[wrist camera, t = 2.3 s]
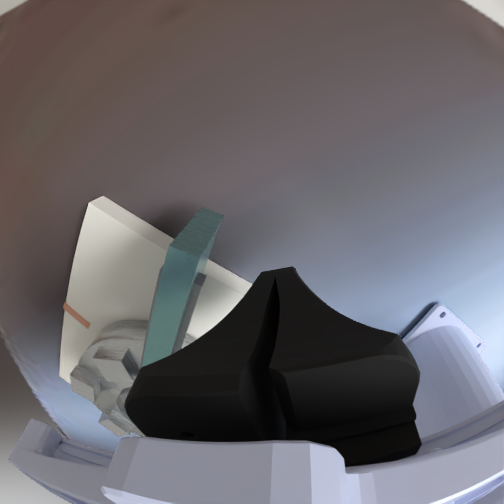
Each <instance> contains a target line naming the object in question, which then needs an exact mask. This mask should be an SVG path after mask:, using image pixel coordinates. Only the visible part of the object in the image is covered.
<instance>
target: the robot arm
mask: <svg viewBox="0 0 504 504" xmlns="http://www.w3.org/2000/svg"><path fill="white" fill-rule="evenodd" d="M441 313H442V314H441ZM485 348H486V344H485V342H484V341H483V340H482V339H481V338H480V337H479V336H477V335H476V334H475V333H474V332H473V331H472V330H471V329H470V328H469V327H468V326H467V325H465V324H464V323H463V322H462V321H461V320H460V319H459V318H458V317H456V316H455V315H454V314H453V313H452V312H451V311H450V310H448V309H447V308H446V307H445V306H444V305H443V304H441V303H437V304H435V305H434V306H433V307H432V308H431V310H430V311H429V312H428V313H427V314H426V315H425V316H424V317H423V318H422V319H421V321H420V322H419V323H418V324H417V325H416V326H415V327H414V328H413V329H412V330H411V331H410V332H409V333H408V334H407V335H406V336H405V337H404V338H403V339H401V338H400V337H399V336H398V334H395V333H391V332H387V331H383V330H379V329H376V328H372V327H369V326H367V325H364V324H361V323H359V322H356V321H354V320H352V319H350V318H348V317H346V316H344V315H342V314H340V313H339V312H337V311H335V310H334V309H332V308H331V307H330V306H328V305H327V304H326V303H324V302H323V301H322V300H321V299H320V298H319V297H318V296H316V295H315V294H314V293H313V292H312V291H311V290H310V289H309V287H308V286H307V285H306V284H305V283H304V282H303V281H302V279H301V278H300V276H299V275H298V273H297V271H296V269H295V268H294V267H286V268H281V269H276V270H270V271H265V272H261V273H260V275H259V276H258V277H257V279H256V280H255V282H254V283H253V285H252V286H251V287H250V289H249V290H248V291H247V293H246V294H245V295H244V297H243V298H242V299H241V300H240V301H239V302H238V304H237V305H236V306H235V307H234V308H233V309H232V310H231V311H230V312H229V313H228V314H227V315H226V316H225V317H224V318H223V319H222V320H221V321H220V322H219V323H218V324H217V325H215V326H214V327H213V328H212V329H210V330H209V331H208V332H206V333H205V334H203V335H202V336H201V337H199V338H198V339H197V340H195V341H194V342H192V343H190V344H189V345H187V346H185V347H184V348H182V349H180V350H178V351H177V352H175V353H173V354H171V355H169V356H167V357H165V358H162V359H160V360H158V361H156V362H153V363H151V364H149V365H146V366H144V367H141V369H140V370H139V372H138V374H137V376H136V379H135V381H134V383H133V385H132V387H131V389H130V391H129V393H128V395H127V397H126V399H125V404H124V408H125V411H126V414H127V415H128V417H129V418H130V420H131V421H132V422H133V424H134V425H135V426H136V427H137V428H138V429H139V430H140V431H141V432H142V433H143V434H144V435H145V436H146V437H125V438H122V439H121V440H120V442H119V443H118V445H117V447H116V450H115V452H114V453H111V452H107V451H103V450H100V449H96V448H93V447H89V446H86V445H83V444H80V443H77V442H74V441H71V440H68V439H65V438H62V436H61V435H60V434H59V433H58V432H57V431H56V430H55V429H54V428H52V427H51V426H50V425H48V424H46V423H44V422H41V421H38V420H36V419H31V420H30V422H29V423H28V425H27V427H26V429H25V430H24V432H23V433H22V435H21V437H20V439H19V440H18V442H17V444H16V446H15V447H14V449H13V451H12V453H11V455H10V457H9V459H8V460H9V462H11V463H12V464H13V465H14V466H15V467H17V468H18V469H19V470H21V471H22V472H23V473H25V474H26V475H27V476H29V477H30V478H31V479H33V480H34V481H35V482H37V483H38V484H40V485H41V486H43V487H44V488H46V489H47V490H49V491H50V492H52V493H54V494H55V495H57V496H59V497H61V498H63V499H64V500H66V501H68V502H70V503H72V504H504V393H503V392H502V390H501V388H500V386H499V385H498V383H497V381H496V380H495V378H494V376H493V375H492V373H491V372H490V370H489V368H488V367H487V365H486V364H485V362H484V360H483V359H482V357H481V356H480V354H481V353H482V352H483V351H484V350H485Z"/></svg>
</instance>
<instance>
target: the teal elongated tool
mask: <svg viewBox="0 0 504 504" xmlns="http://www.w3.org/2000/svg"><path fill="white" fill-rule="evenodd" d="M223 217H224V215H221V214H219V213H216V212H213V211H211V210H208V209H206V208H203V207H202V209H201V210H200V211H199V212H198V213H197V214H196V215H195V216H194V217H193V219H192V220H191V221H190V222H189V223H188V224H187V225H186V226H185V228H184V229H183V230H182V231H181V232H180V233H179V234H178V236H177V237H176V238H175V239H174V240H173V241H172V242H171V244H170V245H169V247H168V250H167V254H166V258H165V262H164V265H163V266H162V267H161V269H160V271H159V275H158V279H157V283H156V288H155V292H154V297H153V301H152V306H151V311H150V315H149V320H148V321H145V320H121V321H117V322H113V323H111V324H108V325H107V326H105V327H104V328H102V330H101V331H100V332H99V333H98V334H97V335H96V337H95V338H94V340H93V341H92V342H91V344H90V345H89V347H88V348H87V349H86V351H85V352H84V354H83V355H82V356H81V358H80V360H79V362H78V365H76V366H75V368H74V369H73V370H72V372H71V373H70V381H71V386H72V391H74V392H76V393H78V394H79V395H81V396H83V397H85V398H87V399H88V400H90V401H92V402H93V403H94V404H95V405H96V406H97V407H98V408H99V409H100V410H101V411H102V412H103V414H102V416H101V418H100V420H99V423H100V424H101V425H103V426H104V427H106V428H107V429H108V430H110V431H111V432H113V433H114V434H116V435H117V436H124V435H129V434H130V432H133V433H135V434H138V435H140V436H142V437H146V436H145V435H144V434H143V433H142V432H141V431H140V430H139V429H138V428H137V427H136V426H135V425H134V424H133V422H132V421H131V420H130V418H129V417H128V415H127V414H126V411H125V408H124V404H125V399H126V397H127V395H128V393H129V391H130V389H131V387H132V385H133V383H134V381H135V379H136V376H137V374H138V372H139V370H140V369H141V367H144V366H146V365H149V364H151V363H153V362H156V361H158V360H160V359H162V358H165V357H167V356H169V355H171V354H173V353H175V352H177V351H178V350H180V349H182V348H184V347H185V346H187V345H189V344H190V343H192V342H194V341H195V340H197V339H196V338H194V337H192V336H190V335H188V334H187V332H188V329H189V326H190V323H191V320H192V317H193V314H194V311H195V308H196V305H197V302H198V299H199V297H200V294H201V291H202V288H203V285H204V282H205V280H206V277H207V275H205V274H203V273H204V270H205V267H206V264H207V261H208V258H209V256H210V253H211V250H212V247H213V244H214V242H215V239H216V236H217V233H218V231H219V228H220V225H221V222H222V220H223Z"/></svg>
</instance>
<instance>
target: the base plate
mask: <svg viewBox="0 0 504 504" xmlns="http://www.w3.org/2000/svg"><path fill="white" fill-rule="evenodd" d="M173 240H174V239H173V238H172V237H170V236H168V235H167V234H165V233H163V232H162V231H160V230H158V229H157V228H155V227H153V226H152V225H150V224H148V223H147V222H145V221H143V220H142V219H140V218H138V217H137V216H135V215H134V214H132V213H130V212H129V211H127V210H125V209H124V208H122V207H121V206H119V205H117V204H116V203H114V202H112V201H111V200H109V199H108V198H106V197H104V196H102V197H99V198H97V199H95V200H93V201H91V202H89V204H88V207H87V211H86V214H85V217H84V221H83V224H82V228H81V232H80V236H79V240H78V244H77V248H76V252H75V257H74V261H73V266H72V271H71V276H70V281H69V287H68V293H67V299H66V303H64V306H63V309H64V310H65V313H64V321H63V330H62V340H61V353H60V373H59V376H60V377H61V378H63V379H64V380H66V381H67V382H69V383H70V384H71V381H70V373H71V372H72V370H73V369H74V368H75V366H76V365H78V362H79V360H80V358H81V356H82V355H83V354H84V352H85V351H86V349H87V348H88V347H89V345H90V344H91V342H92V341H93V340H94V338H95V337H96V335H97V334H98V333H99V332H100V331H101V330H102V328H104V327H105V326H107V325H108V324H111V323H113V322H117V321H121V320H145V321H148V320H149V315H150V311H151V306H152V301H153V297H154V292H155V288H156V283H157V279H158V275H159V271H160V269H161V267H162V266H163V265H164V262H165V258H166V254H167V250H168V247H169V245H170V244H171V242H172V241H173ZM203 274H205V275H207V277H206V280H205V282H204V285H203V288H202V291H201V294H200V297H199V299H198V302H197V305H196V308H195V311H194V314H193V317H192V320H191V323H190V326H189V329H188V332H187V334H188V335H190V336H192V337H194V338H196V339H198V338H199V337H201V336H202V335H203V334H205V333H206V332H208V331H209V330H210V329H212V328H213V327H214V326H215V325H217V324H218V323H219V322H220V321H221V320H222V319H223V318H224V317H225V316H226V315H227V314H228V313H229V312H230V311H231V310H232V309H233V308H234V307H235V306H236V305H237V304H238V302H239V301H240V300H241V299H242V298H243V297H244V295H245V294H246V293H247V291H248V290H249V289H250V287H251V286H252V285H253V284H251V283H249V282H248V281H246V280H244V279H242V278H240V277H239V276H237V275H235V274H233V273H232V272H230V271H228V270H226V269H225V268H223V267H221V266H219V265H218V264H216V263H214V262H213V261H211V260H209V259H208V261H207V264H206V267H205V270H204V273H203Z"/></svg>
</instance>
